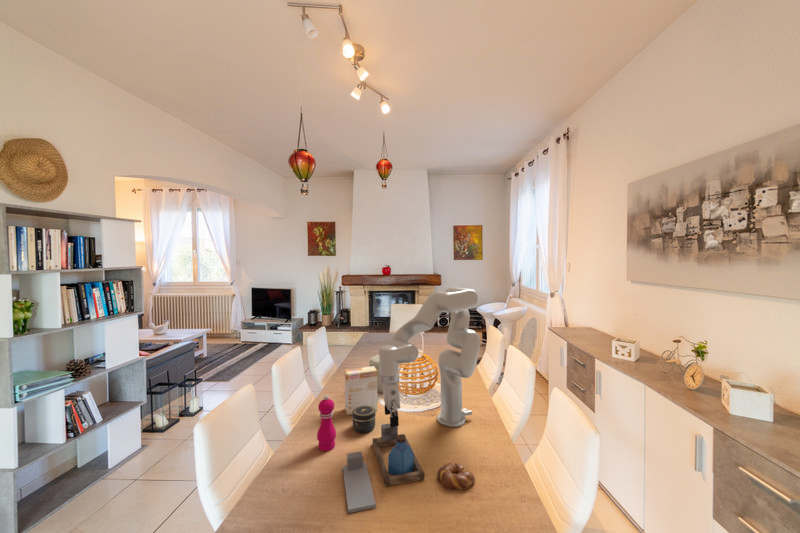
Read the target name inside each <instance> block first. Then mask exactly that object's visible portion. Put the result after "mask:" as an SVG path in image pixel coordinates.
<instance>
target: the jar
mask: <svg viewBox="0 0 800 533" xmlns="http://www.w3.org/2000/svg"><path fill="white" fill-rule="evenodd" d="M351 415H352V416H351V417H352V428H353V430H354V432H356V433H359V434H367V433H371V432H372V431H373V430H374V429H375V426H376V410H375V409H374V408H373V407H371V406H359V407H356V408H355V409H354V410H353V413H352V414H351Z"/></svg>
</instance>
